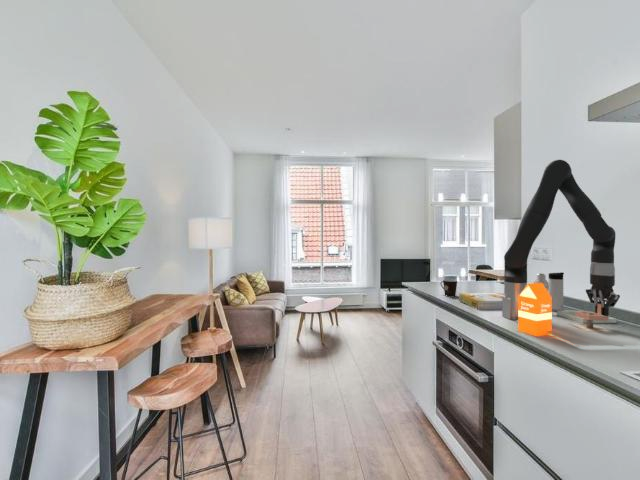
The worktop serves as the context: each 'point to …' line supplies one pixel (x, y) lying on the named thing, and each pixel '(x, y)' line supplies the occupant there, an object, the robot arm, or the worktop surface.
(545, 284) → the plastic bottle
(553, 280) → the travel mug
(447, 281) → the coffee mug
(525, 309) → the orange juice
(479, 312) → the worktop surface
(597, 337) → the worktop surface
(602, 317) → the collar
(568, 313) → the tray
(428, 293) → the worktop surface
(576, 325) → the wooden peg stand
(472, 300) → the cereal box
